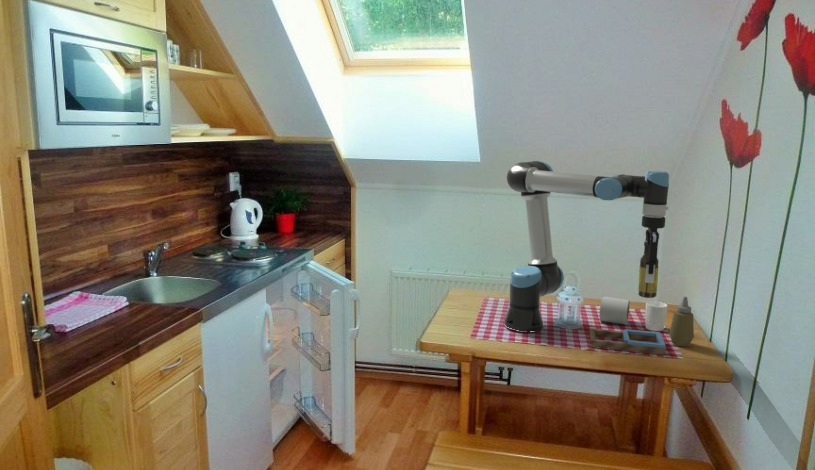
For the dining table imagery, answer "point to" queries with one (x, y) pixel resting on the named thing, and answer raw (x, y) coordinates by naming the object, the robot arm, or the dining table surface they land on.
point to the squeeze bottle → (682, 325)
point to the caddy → (629, 341)
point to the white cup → (655, 315)
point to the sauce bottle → (645, 288)
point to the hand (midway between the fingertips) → (648, 279)
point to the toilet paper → (614, 310)
